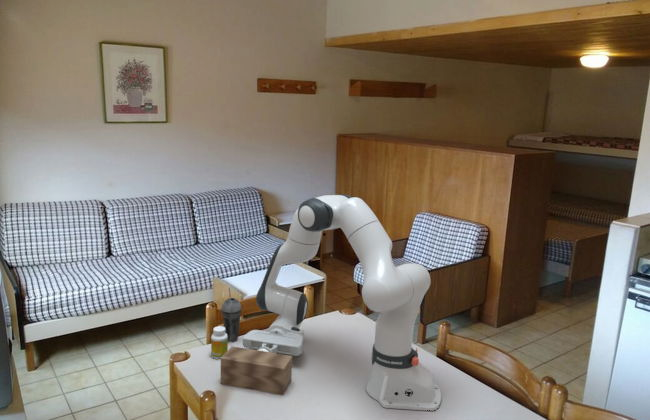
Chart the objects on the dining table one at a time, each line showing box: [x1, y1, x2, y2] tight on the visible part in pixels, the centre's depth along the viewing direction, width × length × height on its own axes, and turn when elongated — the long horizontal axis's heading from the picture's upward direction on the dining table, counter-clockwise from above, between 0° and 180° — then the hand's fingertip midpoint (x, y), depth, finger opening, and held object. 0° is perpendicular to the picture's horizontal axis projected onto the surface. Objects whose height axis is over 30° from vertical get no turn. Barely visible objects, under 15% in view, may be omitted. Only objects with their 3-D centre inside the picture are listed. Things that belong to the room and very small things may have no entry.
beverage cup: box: [221, 287, 243, 343], centre depth 178 cm, size 7×7×20 cm
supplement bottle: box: [210, 325, 229, 360], centre depth 167 cm, size 5×5×10 cm
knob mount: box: [220, 345, 293, 396], centre depth 152 cm, size 20×8×8 cm, turn 76°
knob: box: [258, 346, 272, 353], centre depth 154 cm, size 5×9×5 cm, turn 166°
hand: (265, 353), depth 158 cm, fingers closed, pressing on knob
